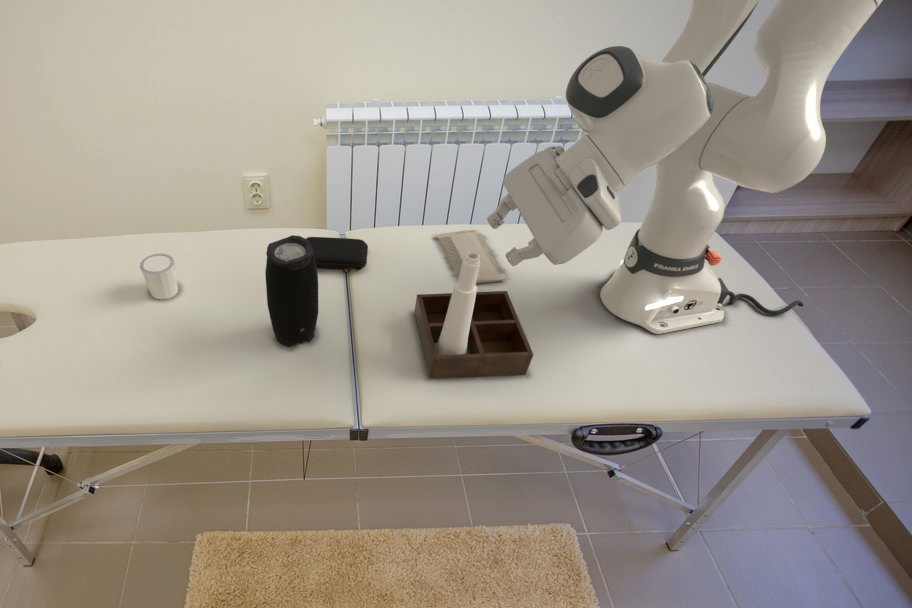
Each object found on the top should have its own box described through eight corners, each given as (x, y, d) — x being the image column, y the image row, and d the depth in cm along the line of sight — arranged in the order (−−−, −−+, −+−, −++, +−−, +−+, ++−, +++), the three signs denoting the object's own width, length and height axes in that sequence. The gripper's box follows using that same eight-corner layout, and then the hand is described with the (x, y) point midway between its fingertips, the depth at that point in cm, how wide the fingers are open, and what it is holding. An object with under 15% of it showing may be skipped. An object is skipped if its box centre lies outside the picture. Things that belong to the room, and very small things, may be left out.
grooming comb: (435, 235, 130) (435, 233, 129) (478, 231, 131) (478, 228, 130) (461, 286, 118) (461, 283, 118) (508, 281, 119) (508, 278, 118)
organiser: (500, 310, 113) (506, 290, 109) (525, 374, 102) (533, 354, 98) (413, 314, 113) (416, 294, 109) (429, 379, 102) (433, 359, 98)
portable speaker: (318, 349, 107) (317, 263, 92) (269, 349, 107) (259, 263, 92) (318, 319, 112) (317, 233, 98) (271, 319, 113) (263, 233, 98)
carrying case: (296, 273, 122) (365, 277, 121) (296, 262, 120) (366, 265, 118) (302, 245, 129) (367, 248, 128) (302, 233, 127) (368, 236, 125)
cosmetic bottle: (445, 340, 107) (467, 239, 90) (472, 356, 104) (500, 254, 87) (426, 357, 104) (445, 256, 87) (453, 373, 101) (479, 272, 84)
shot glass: (159, 305, 116) (151, 278, 111) (141, 290, 119) (133, 262, 114) (187, 291, 119) (180, 263, 114) (169, 276, 122) (162, 248, 117)
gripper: (547, 126, 83) (469, 193, 90) (605, 202, 70) (508, 272, 77) (567, 154, 87) (490, 215, 94) (626, 230, 74) (532, 295, 81)
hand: (499, 242), depth 86 cm, fingers open, 8 cm apart
